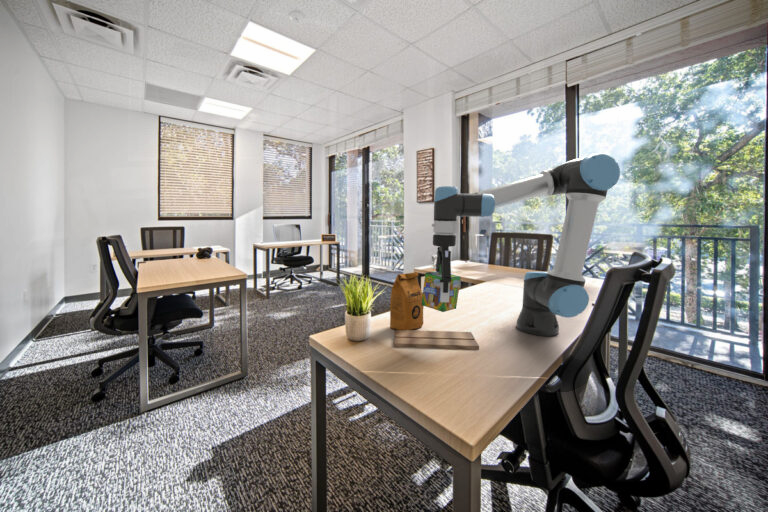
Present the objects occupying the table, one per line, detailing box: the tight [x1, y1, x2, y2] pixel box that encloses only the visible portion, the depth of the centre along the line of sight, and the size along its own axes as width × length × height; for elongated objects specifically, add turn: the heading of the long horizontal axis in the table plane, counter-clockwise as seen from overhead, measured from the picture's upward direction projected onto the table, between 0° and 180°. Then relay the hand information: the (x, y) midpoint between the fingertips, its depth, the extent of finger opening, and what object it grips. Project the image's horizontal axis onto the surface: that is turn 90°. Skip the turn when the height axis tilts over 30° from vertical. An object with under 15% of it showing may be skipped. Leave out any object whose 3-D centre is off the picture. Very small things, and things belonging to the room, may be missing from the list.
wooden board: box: [393, 337, 480, 351], centre depth 112 cm, size 28×12×2 cm, turn 87°
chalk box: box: [421, 264, 462, 313], centre depth 108 cm, size 9×9×15 cm
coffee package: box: [389, 271, 425, 330], centre depth 123 cm, size 10×12×22 cm
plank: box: [394, 329, 476, 340], centre depth 114 cm, size 28×6×1 cm, turn 87°
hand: (441, 296), depth 108 cm, fingers closed on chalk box, 12 cm apart
